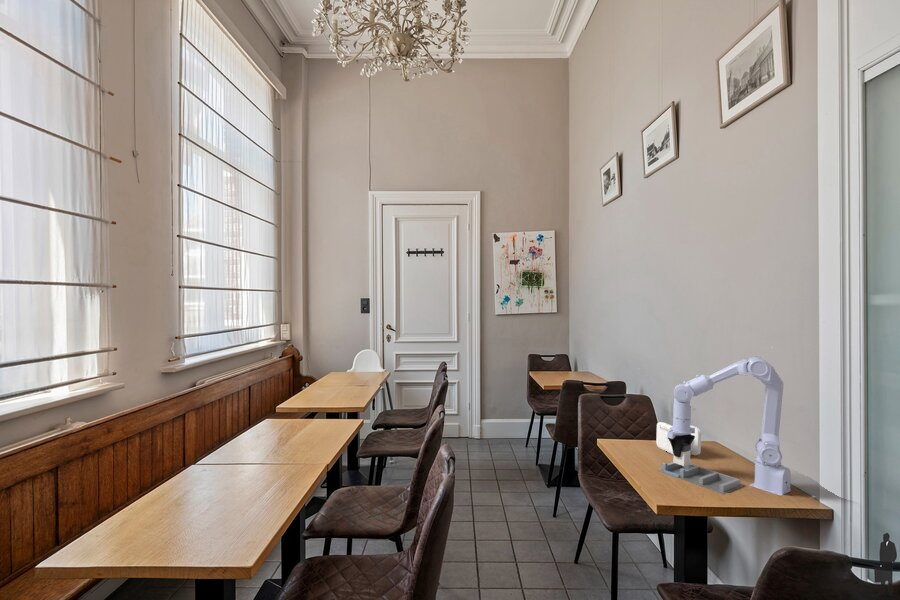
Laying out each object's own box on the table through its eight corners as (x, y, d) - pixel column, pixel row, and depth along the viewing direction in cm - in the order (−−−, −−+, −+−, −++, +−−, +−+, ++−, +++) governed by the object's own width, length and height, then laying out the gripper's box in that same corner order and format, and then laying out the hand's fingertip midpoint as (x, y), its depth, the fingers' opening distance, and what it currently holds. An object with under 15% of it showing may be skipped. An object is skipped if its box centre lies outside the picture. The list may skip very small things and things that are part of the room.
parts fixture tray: (743, 487, 154) (743, 477, 154) (723, 496, 147) (723, 485, 147) (677, 465, 173) (678, 456, 173) (657, 472, 166) (657, 462, 166)
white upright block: (690, 464, 164) (690, 444, 164) (683, 466, 162) (684, 446, 162) (679, 460, 168) (680, 441, 168) (673, 462, 166) (673, 443, 166)
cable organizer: (702, 458, 182) (703, 429, 182) (680, 460, 179) (681, 430, 179) (675, 446, 197) (676, 419, 196) (654, 447, 194) (655, 420, 194)
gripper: (682, 413, 173) (681, 448, 173) (659, 417, 165) (658, 455, 165) (701, 417, 167) (699, 454, 167) (678, 422, 159) (677, 461, 159)
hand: (680, 455), depth 165 cm, fingers closed on white upright block, 4 cm apart
